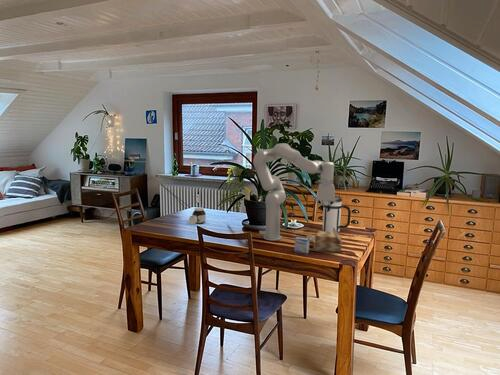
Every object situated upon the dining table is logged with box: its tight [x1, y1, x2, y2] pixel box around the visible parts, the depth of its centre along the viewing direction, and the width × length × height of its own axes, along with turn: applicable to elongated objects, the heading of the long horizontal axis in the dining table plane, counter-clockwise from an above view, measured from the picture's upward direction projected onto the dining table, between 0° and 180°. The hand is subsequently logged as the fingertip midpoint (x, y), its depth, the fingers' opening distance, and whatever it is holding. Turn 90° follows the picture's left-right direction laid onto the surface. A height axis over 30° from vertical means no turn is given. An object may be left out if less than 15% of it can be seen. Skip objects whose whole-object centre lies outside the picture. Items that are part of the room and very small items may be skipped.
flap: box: [333, 227, 343, 244], centre depth 220 cm, size 1×12×8 cm
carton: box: [305, 230, 343, 254], centre depth 222 cm, size 21×24×7 cm
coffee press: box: [322, 194, 351, 235], centre depth 251 cm, size 17×16×30 cm
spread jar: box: [188, 206, 207, 226], centre depth 270 cm, size 12×11×12 cm
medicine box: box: [293, 236, 310, 255], centre depth 212 cm, size 8×4×9 cm, turn 66°
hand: (325, 211), depth 219 cm, fingers open, 2 cm apart
